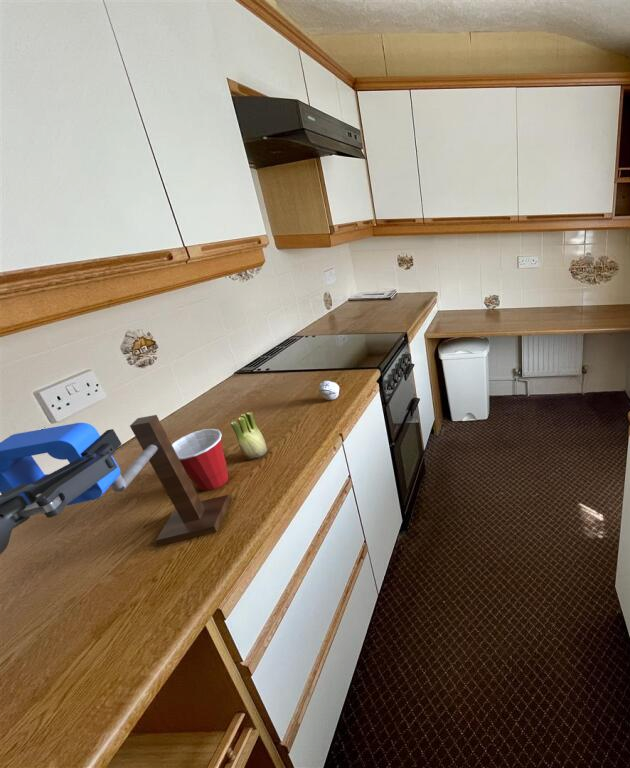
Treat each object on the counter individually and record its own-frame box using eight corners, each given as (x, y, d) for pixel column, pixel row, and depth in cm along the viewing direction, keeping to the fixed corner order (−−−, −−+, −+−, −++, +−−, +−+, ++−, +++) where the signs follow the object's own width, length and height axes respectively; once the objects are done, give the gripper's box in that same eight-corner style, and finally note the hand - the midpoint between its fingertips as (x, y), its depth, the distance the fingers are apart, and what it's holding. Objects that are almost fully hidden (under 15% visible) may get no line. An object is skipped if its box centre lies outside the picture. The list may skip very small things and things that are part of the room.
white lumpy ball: (318, 405, 130) (311, 385, 127) (328, 395, 137) (322, 376, 133) (336, 404, 130) (330, 385, 127) (345, 394, 136) (340, 375, 133)
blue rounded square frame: (106, 497, 58) (68, 438, 54) (18, 516, 55) (-29, 456, 51) (124, 476, 62) (91, 420, 58) (43, 493, 60) (2, 436, 55)
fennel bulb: (248, 464, 103) (230, 424, 98) (242, 457, 106) (225, 417, 101) (272, 453, 106) (256, 414, 101) (266, 447, 110) (250, 408, 104)
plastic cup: (174, 497, 93) (150, 454, 88) (213, 468, 102) (193, 427, 97) (214, 501, 91) (192, 457, 86) (250, 470, 100) (232, 429, 95)
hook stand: (201, 565, 74) (139, 454, 64) (137, 582, 72) (60, 470, 61) (230, 499, 91) (185, 402, 80) (179, 511, 88) (124, 413, 77)
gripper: (-195, 624, 39) (-11, 484, 59) (87, 555, 45) (170, 448, 64) (-265, 570, 36) (-45, 441, 55) (49, 503, 42) (149, 407, 61)
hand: (71, 445), depth 60 cm, fingers closed on blue rounded square frame, 10 cm apart
